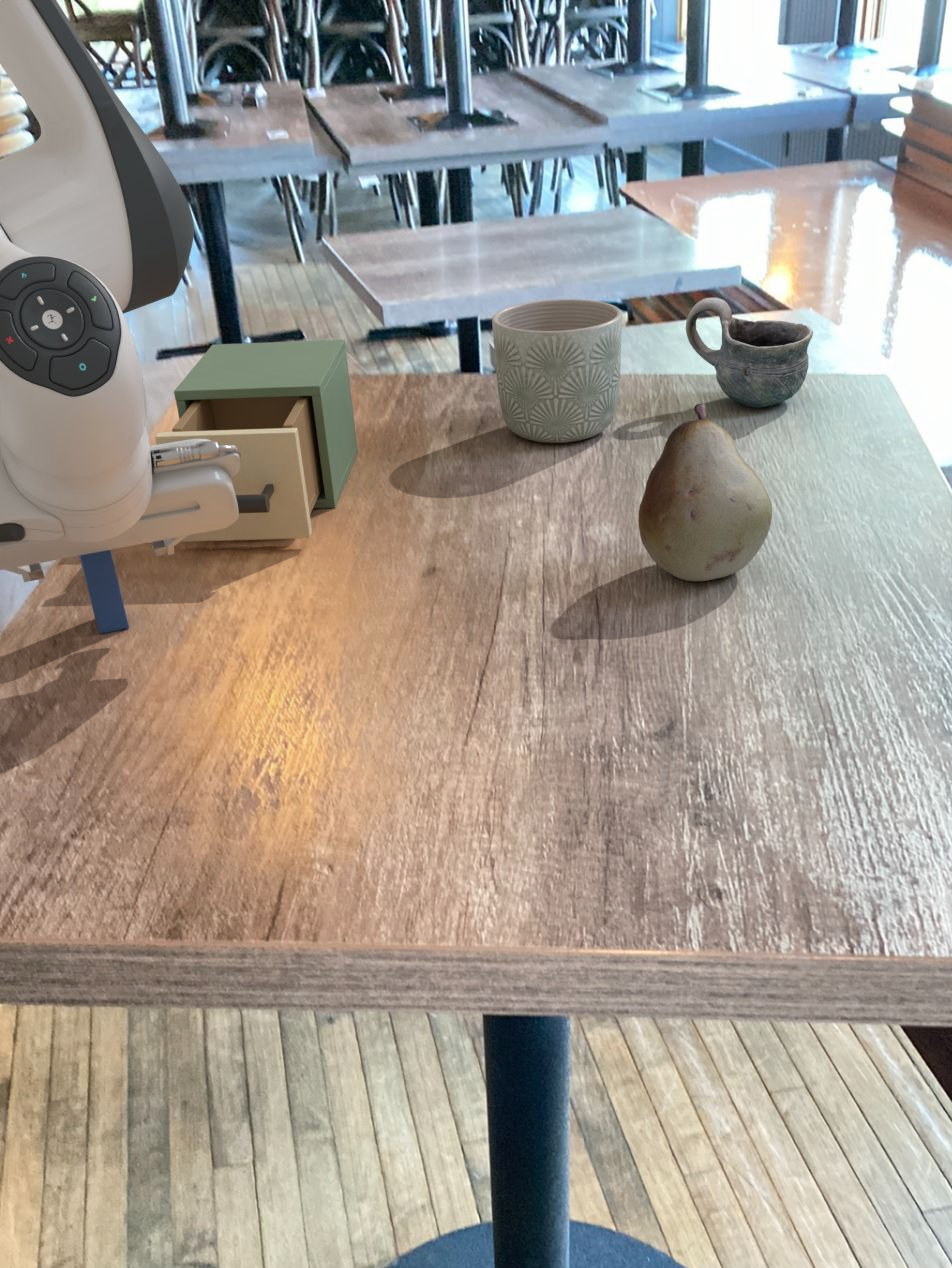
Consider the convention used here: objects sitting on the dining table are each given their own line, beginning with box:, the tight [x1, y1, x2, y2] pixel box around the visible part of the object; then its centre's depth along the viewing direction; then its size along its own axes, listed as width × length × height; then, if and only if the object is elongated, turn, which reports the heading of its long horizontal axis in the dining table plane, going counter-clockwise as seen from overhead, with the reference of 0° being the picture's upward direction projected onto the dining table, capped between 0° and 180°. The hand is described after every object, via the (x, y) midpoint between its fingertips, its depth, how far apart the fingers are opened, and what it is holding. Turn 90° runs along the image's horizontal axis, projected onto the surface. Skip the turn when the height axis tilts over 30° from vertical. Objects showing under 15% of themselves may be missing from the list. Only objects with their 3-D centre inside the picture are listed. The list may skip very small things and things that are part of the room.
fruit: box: [637, 403, 773, 582], centre depth 100 cm, size 10×9×12 cm
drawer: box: [154, 396, 324, 543], centre depth 112 cm, size 18×11×9 cm, turn 177°
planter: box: [491, 298, 623, 444], centre depth 129 cm, size 12×12×11 cm
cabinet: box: [173, 339, 359, 509], centre depth 121 cm, size 15×13×11 cm
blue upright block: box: [78, 550, 130, 635], centre depth 99 cm, size 2×4×8 cm, turn 21°
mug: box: [685, 297, 814, 408], centre depth 133 cm, size 10×12×10 cm
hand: (97, 558), depth 97 cm, fingers open, 8 cm apart
